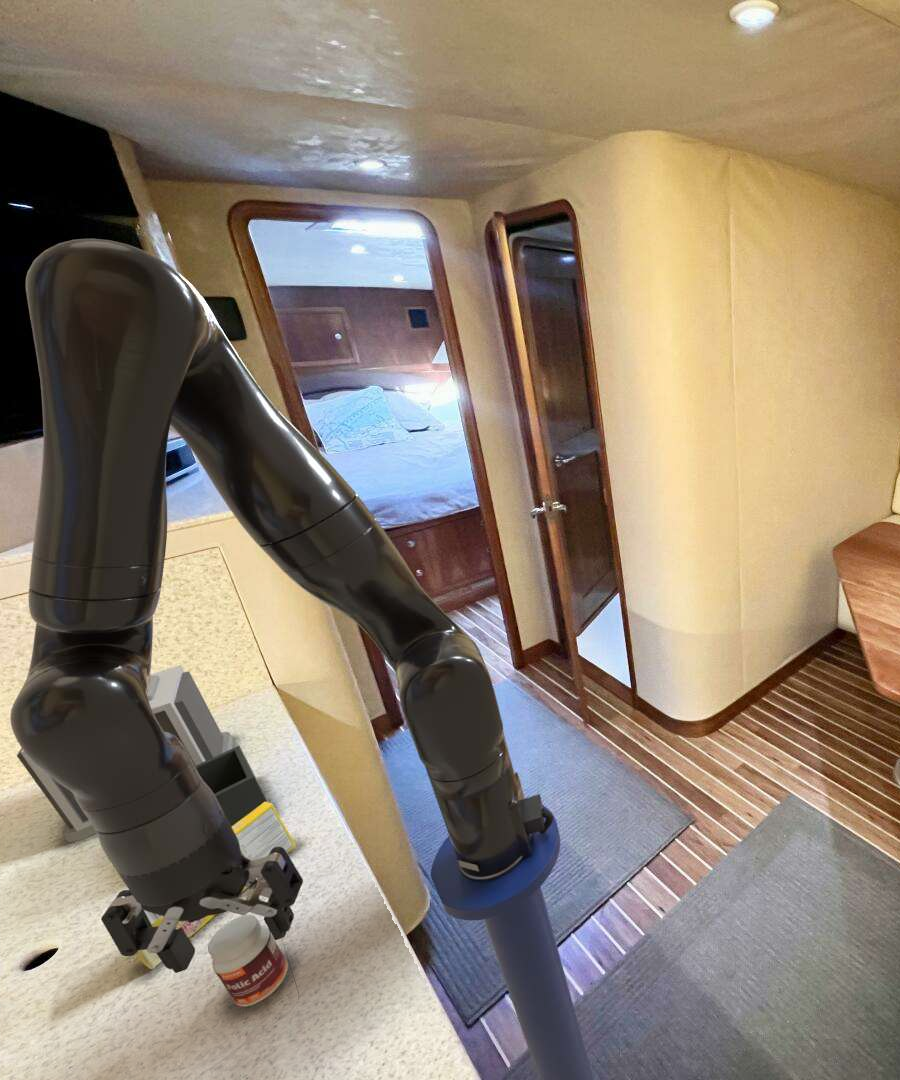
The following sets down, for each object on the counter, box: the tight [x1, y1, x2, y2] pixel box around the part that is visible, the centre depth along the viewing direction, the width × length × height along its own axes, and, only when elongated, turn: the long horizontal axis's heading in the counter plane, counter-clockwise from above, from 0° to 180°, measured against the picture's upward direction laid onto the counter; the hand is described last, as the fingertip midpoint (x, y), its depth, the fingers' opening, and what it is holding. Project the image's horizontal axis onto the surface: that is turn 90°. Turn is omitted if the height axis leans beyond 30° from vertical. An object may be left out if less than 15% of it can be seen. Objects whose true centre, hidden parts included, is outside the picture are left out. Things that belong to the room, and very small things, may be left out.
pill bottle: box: [207, 914, 289, 1007], centre depth 57 cm, size 5×5×8 cm
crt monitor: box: [16, 665, 234, 844], centre depth 84 cm, size 18×13×18 cm
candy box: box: [135, 801, 297, 970], centre depth 66 cm, size 16×2×8 cm, turn 161°
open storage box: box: [195, 745, 268, 827], centre depth 78 cm, size 10×10×8 cm
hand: (236, 946), depth 56 cm, fingers open, 8 cm apart
